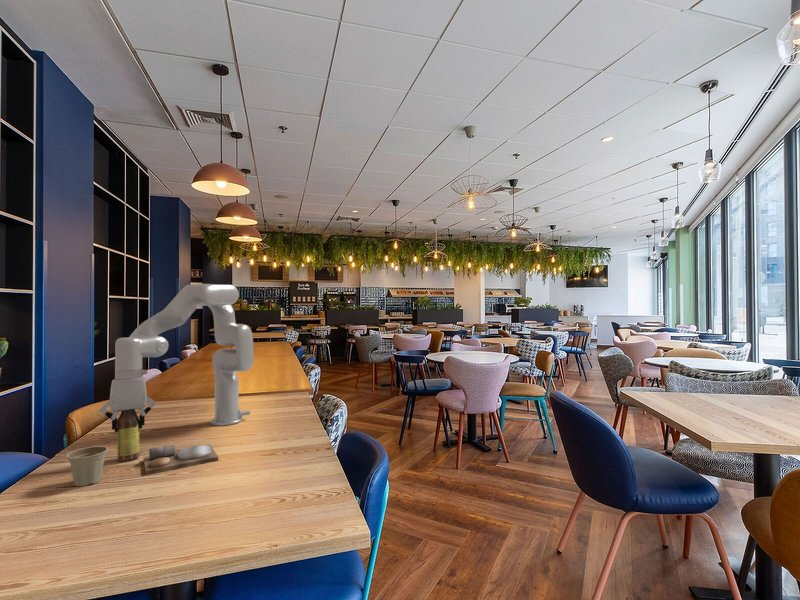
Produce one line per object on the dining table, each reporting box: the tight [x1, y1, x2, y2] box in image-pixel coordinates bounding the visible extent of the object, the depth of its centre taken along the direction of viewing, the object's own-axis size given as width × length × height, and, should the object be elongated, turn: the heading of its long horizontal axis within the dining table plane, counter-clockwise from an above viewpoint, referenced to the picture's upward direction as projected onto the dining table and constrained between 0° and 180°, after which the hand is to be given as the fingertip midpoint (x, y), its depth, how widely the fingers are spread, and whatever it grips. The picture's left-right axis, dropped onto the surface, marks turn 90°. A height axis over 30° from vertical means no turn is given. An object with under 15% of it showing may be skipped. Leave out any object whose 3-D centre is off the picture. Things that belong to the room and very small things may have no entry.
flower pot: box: [66, 445, 109, 487], centre depth 117 cm, size 9×9×9 cm
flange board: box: [143, 444, 219, 476], centre depth 133 cm, size 20×14×4 cm
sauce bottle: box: [116, 409, 141, 462], centre depth 135 cm, size 7×6×20 cm
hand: (128, 429), depth 135 cm, fingers closed on sauce bottle, 6 cm apart
